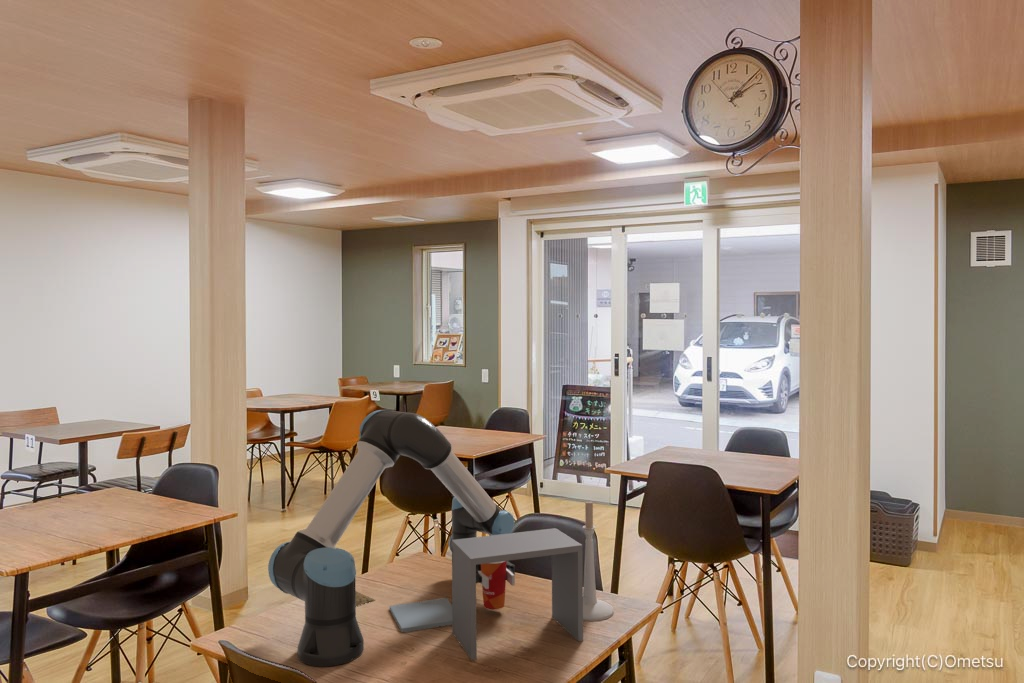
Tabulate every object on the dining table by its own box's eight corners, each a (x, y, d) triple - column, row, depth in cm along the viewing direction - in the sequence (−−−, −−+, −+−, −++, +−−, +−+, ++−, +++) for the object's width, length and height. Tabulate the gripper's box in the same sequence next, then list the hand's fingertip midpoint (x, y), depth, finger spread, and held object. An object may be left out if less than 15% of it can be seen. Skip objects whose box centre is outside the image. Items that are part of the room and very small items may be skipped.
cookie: (377, 601, 206) (377, 598, 206) (339, 614, 197) (339, 610, 197) (353, 591, 214) (353, 587, 214) (316, 602, 206) (316, 599, 206)
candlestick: (621, 608, 199) (621, 498, 198) (600, 624, 188) (599, 508, 187) (579, 599, 206) (579, 492, 205) (557, 614, 195) (556, 502, 194)
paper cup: (476, 602, 199) (476, 551, 199) (503, 598, 202) (503, 548, 201) (484, 612, 192) (483, 559, 191) (512, 609, 194) (511, 556, 194)
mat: (401, 632, 184) (401, 628, 184) (389, 609, 199) (389, 605, 199) (463, 623, 190) (462, 619, 190) (446, 601, 205) (446, 597, 205)
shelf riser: (471, 660, 168) (470, 558, 168) (452, 633, 183) (451, 539, 183) (582, 640, 178) (582, 545, 178) (556, 616, 193) (555, 528, 193)
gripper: (505, 565, 217) (534, 591, 195) (441, 573, 210) (464, 601, 188) (505, 540, 217) (534, 563, 195) (441, 547, 210) (464, 572, 188)
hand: (500, 582), depth 192 cm, fingers closed on paper cup, 6 cm apart
